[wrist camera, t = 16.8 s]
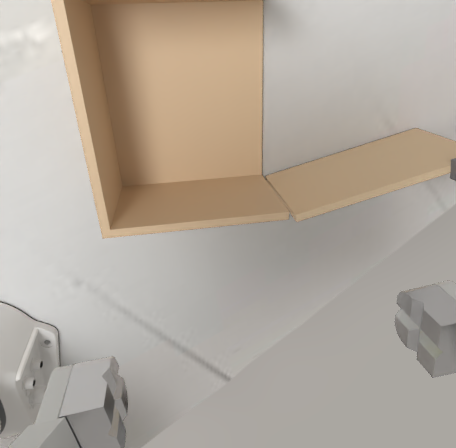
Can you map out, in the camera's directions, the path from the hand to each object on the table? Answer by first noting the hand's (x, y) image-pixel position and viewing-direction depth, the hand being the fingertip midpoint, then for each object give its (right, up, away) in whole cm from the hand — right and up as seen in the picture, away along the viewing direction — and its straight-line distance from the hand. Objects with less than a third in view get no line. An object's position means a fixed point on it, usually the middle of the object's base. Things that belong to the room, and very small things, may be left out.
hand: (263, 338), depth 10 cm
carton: (-6, +17, +30) cm, 35 cm away
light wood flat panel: (+13, +12, +36) cm, 40 cm away
